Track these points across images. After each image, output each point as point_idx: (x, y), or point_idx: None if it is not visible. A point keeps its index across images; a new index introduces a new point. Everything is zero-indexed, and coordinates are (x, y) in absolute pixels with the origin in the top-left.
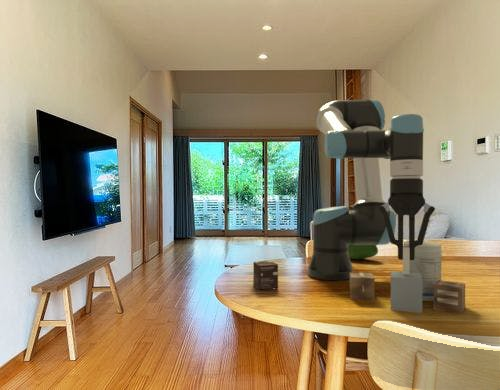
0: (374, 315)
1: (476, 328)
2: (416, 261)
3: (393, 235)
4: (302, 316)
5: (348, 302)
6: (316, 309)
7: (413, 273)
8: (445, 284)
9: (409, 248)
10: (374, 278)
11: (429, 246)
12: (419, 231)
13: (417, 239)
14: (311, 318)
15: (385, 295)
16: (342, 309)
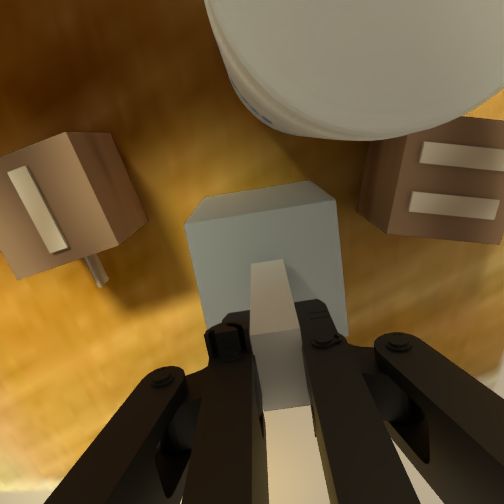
0: (194, 369)
1: (464, 338)
2: (319, 137)
3: (177, 500)
4: (30, 464)
5: (77, 288)
6: (29, 400)
7: (300, 221)
8: (438, 213)
9: (309, 400)
10: (118, 245)
11: (464, 113)
12: (446, 415)
13: (387, 375)
14: (58, 465)
15: (164, 118)
16: (93, 364)
